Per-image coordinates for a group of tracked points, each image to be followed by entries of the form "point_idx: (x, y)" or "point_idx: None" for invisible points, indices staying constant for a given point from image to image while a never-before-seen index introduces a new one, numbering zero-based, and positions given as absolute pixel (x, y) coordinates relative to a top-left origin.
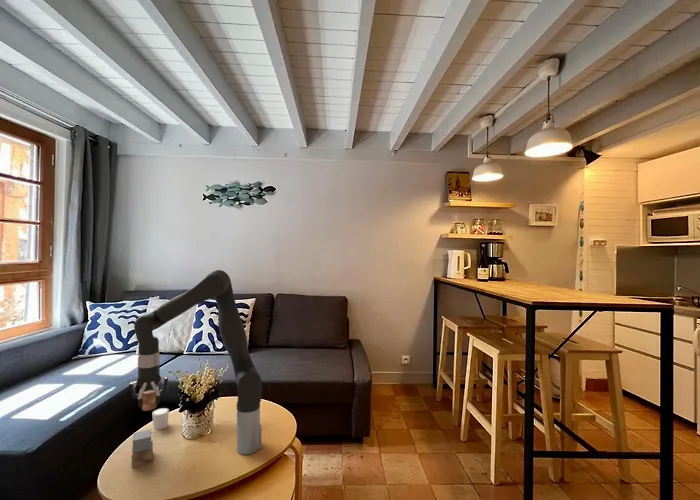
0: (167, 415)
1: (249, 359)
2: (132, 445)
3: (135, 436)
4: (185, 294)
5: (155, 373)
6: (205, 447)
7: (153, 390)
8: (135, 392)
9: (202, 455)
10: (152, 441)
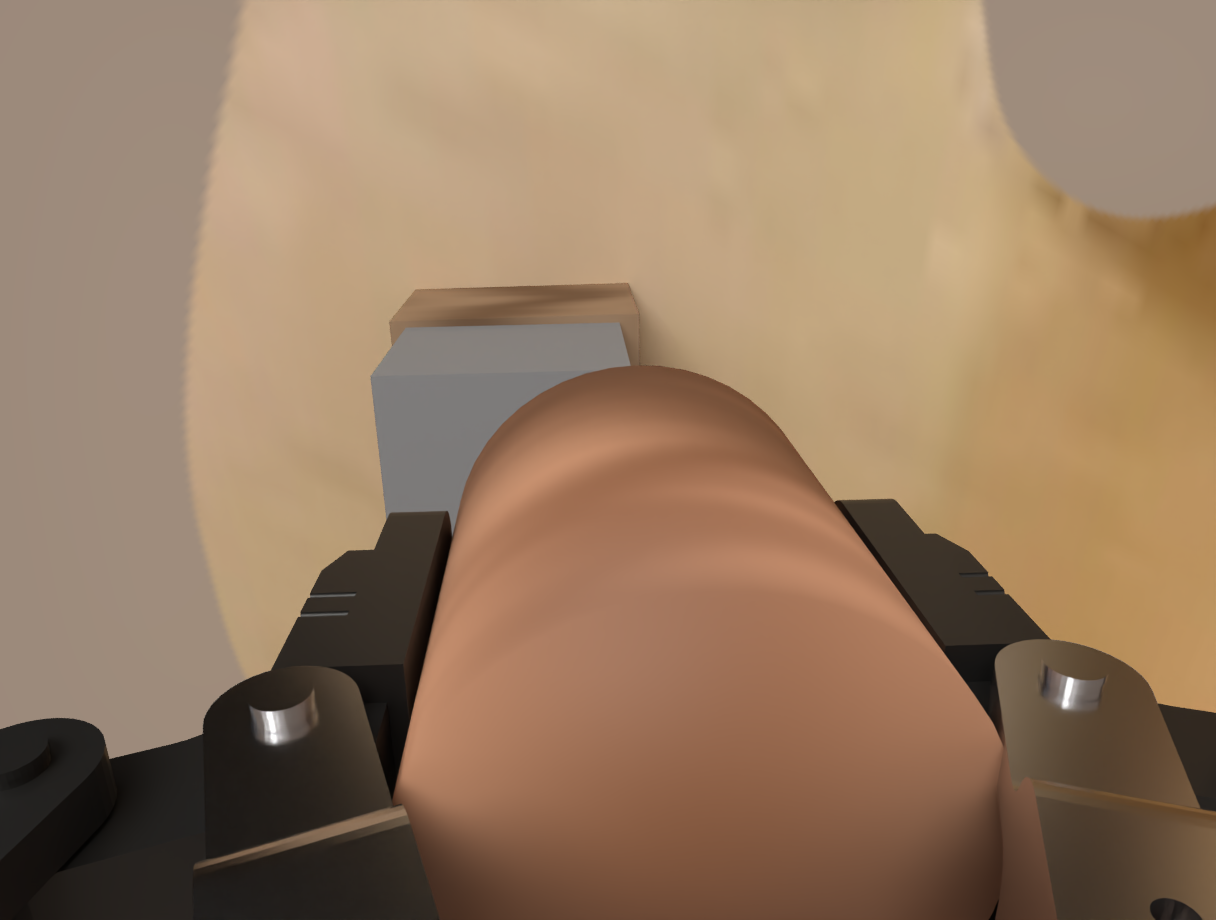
0: None
1: None
2: (389, 321)
3: (417, 502)
4: None
5: None
6: (1153, 440)
7: (911, 656)
8: (4, 918)
9: (1082, 568)
10: (635, 334)
